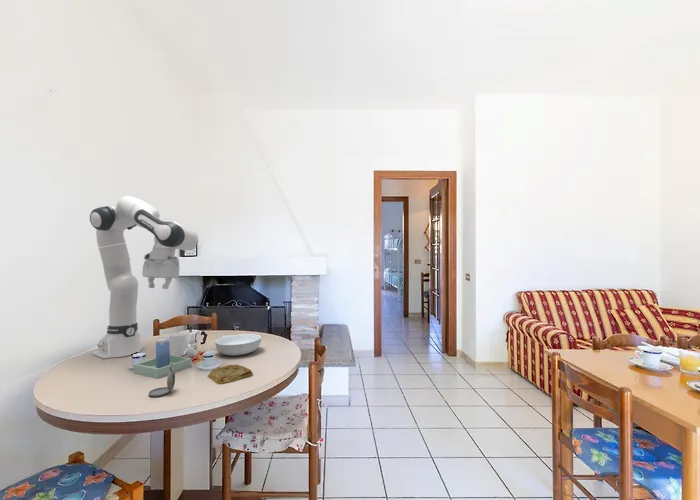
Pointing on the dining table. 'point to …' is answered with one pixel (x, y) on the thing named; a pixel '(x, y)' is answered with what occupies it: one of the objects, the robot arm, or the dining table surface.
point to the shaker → (162, 352)
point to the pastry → (229, 374)
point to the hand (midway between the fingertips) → (158, 288)
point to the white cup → (178, 343)
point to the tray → (150, 367)
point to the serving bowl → (238, 344)
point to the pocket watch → (167, 389)
